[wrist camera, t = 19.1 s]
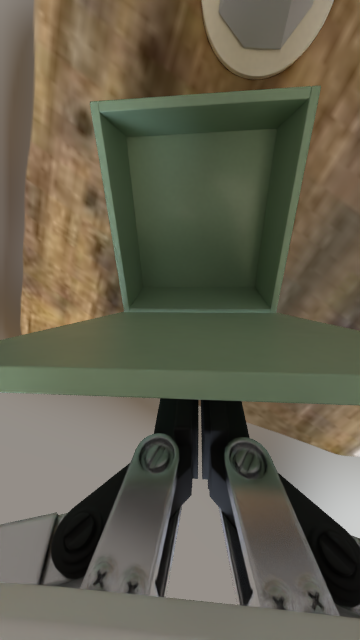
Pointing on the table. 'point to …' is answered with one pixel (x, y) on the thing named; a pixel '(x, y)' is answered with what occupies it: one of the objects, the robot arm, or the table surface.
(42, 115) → the table surface
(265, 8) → the flask
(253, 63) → the coaster
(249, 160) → the box
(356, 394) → the box lid
